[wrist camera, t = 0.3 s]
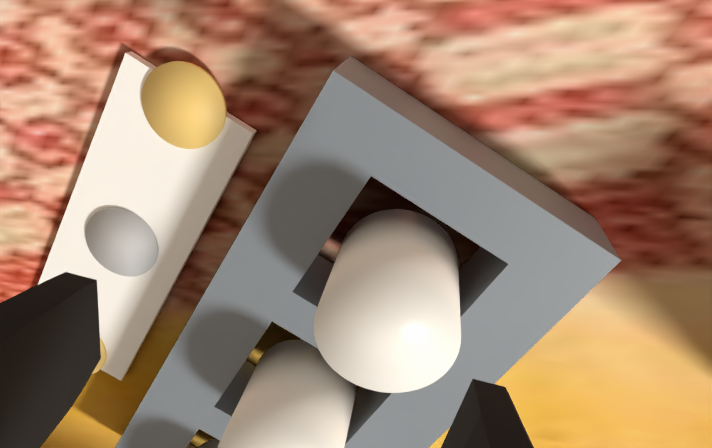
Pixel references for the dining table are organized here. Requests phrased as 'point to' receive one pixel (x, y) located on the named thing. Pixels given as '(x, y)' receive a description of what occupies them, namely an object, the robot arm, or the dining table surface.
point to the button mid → (292, 402)
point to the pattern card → (146, 195)
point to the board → (311, 271)
